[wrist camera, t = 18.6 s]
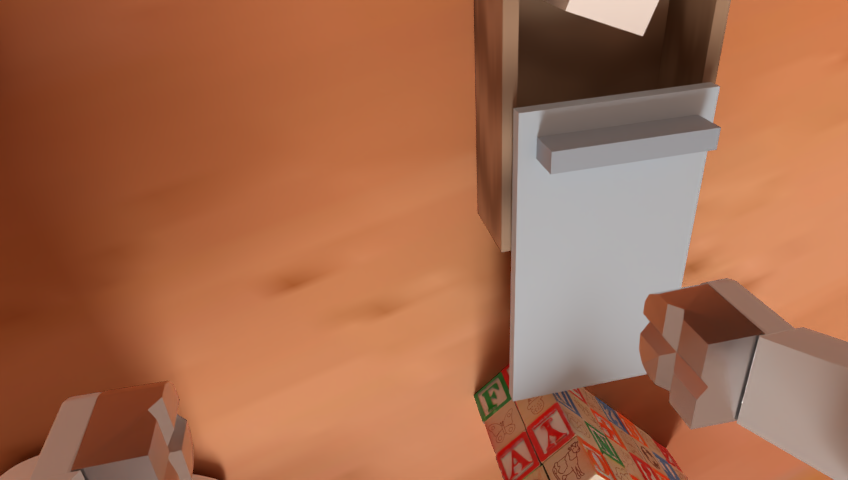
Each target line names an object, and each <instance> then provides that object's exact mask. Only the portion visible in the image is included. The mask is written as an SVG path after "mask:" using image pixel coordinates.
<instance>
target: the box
mask: <svg viewBox="0 0 848 480" xmlns="http://www.w3.org/2000/svg"><path fill="white" fill-rule="evenodd" d="M730 2H731V0H659V2H658V4H657V6H656V8H655V11H654V13H653V15H652V17H651V19H650V22H649V24H648V26H647V28H646V30H645V33H644V35H643V36H640V35H637V34H634V33H631V32H628V31H625V30H622V29H619V28H616V27H613V26H610V25H607V24H604V23H601V22H598V21H595V20H592V19H589V18H586V17H582V16H579V15H576V14H573V13H570V12H567V11H565V10H562V9H560V8H558V7H556V6H554V5H552V4H550V3H547V2H545V1H543V0H474V35H475V91H476V148H477V204H478V214H479V216H480V218H481V219H482V221H483V223H484V224H485V226H486V228H487V229H488V231H489V233H490V234H491V236H492V238H493V239H494V241H495V243H496V244H497V246H498V248H499V249H500V251H501V252H507V251H511V237H512V173H513V108H519V107H526V106H534V105H541V104H549V103H556V102H564V101H572V100H579V99H587V98H594V97H602V96H609V95H617V94H624V93H632V92H639V91H647V90H655V89H662V88H670V87H677V86H685V85H692V84H700V83H707V82H712V83H714V84H715V82H716V76H717V71H718V66H719V60H720V55H721V50H722V44H723V39H724V34H725V29H726V23H727V18H728V13H729V7H730Z"/></svg>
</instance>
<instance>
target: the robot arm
mask: <svg viewBox="0 0 848 480" xmlns="http://www.w3.org/2000/svg"><path fill="white" fill-rule="evenodd" d="M643 314H644V315H645V317H646V318H647V319H648V320H649V323H648V324H647V326H646V327H645V328H644V329H643V331H642V332H641V333H640V342H639V352H640V357H641V361H642V365H643V367H644V369H645V371H646V373H647V375H648V376H649V377H650V379H651V380H652V381H653V383H654V384H655V385H657V386H660V387H662V388H664V389H666V390H668V391H670V395H669V403H670V404H671V405H672V407H673V408H674V409H675V410H676V412H677V413H678V414H679V415H680V417H681V418H682V419H683V420H684V422H685V423H686V424H687V425H688V427H689V428H690V429H695V428H701V427H706V426H711V425H717V424H722V423H727V422H732V421H737V423H738V424H739V425H741V426H743V427H744V428H746V429H748V430H750V431H751V432H753V433H755V434H756V435H758V436H760V437H762V438H763V439H765V440H767V441H769V442H770V443H772V444H774V445H775V446H777V447H779V448H781V449H782V450H784V451H786V452H787V453H789V454H791V455H793V456H794V457H796V458H798V459H799V460H801V461H803V462H805V463H806V464H808V465H810V466H812V467H813V468H815V469H817V470H818V471H820V472H822V473H824V474H825V475H827V476H829V477H830V478H832V479H834V480H848V342H846V341H843V340H840V339H837V338H834V337H831V336H828V335H825V334H822V333H819V332H816V331H813V330H810V329H807V328H804V327H802V328H796V329H795V328H794V327H792V326H791V325H790V324H789V323H787V322H786V321H785V320H784V319H782V318H781V317H780V316H779V315H777V314H776V313H775V312H774V311H773V310H771V309H770V308H769V307H768V306H766V305H765V304H764V303H763V302H761V301H760V300H759V299H758V298H756V297H755V296H754V295H753V294H751V293H750V292H749V291H748V290H747V289H745V288H744V287H743V286H742V285H740V284H739V283H738V282H737V281H735V280H732V279H728V278H725V279H720V280H716V281H711V282H706V283H701V284H700V285H695V286H690V287H684V288H679V289H674V290H668V291H663V292H657V293H652V294H649V295H648V297H647V299H646V300H645V304H644V310H643ZM179 400H180V399H179V397H178V394H177V391H176V389H175V386H174V384H173V383H172V382H170V381H163V382H157V383H151V384H144V385H138V386H132V387H126V388H119V389H113V390H107V391H103V392H96V393H90V394H85V395H79V396H73V397H69V398H68V399H66V400H65V401H64V402H63V403H62V404H61V407H60V409H59V411H58V413H57V416H56V418H55V420H54V423H53V425H52V427H51V429H50V432H49V434H48V436H47V439H46V441H45V443H44V445H43V448H42V450H41V452H40V455H38V456H35V457H33V458H30V459H28V460H26V461H23V462H21V463H19V464H18V465H16V466H14V467H12V468H11V469H9V470H8V471H6V472H5V473H4V474H3V475H1V476H0V480H217V479H214V478H210V477H206V476H200V475H195V474H192V473H193V466H194V457H193V442H192V437H191V432H190V429H189V426H188V423H187V420H186V419H184V418H182V417H181V416H179V415H178V414H177V411H178V405H179Z"/></svg>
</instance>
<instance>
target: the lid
mask: <svg viewBox="0 0 848 480" xmlns="http://www.w3.org/2000/svg"><path fill="white" fill-rule="evenodd" d="M719 89H720V86H718V85H716V84H714V83H712V82H707V83H700V84H692V85H685V86H677V87H670V88H662V89H655V90H647V91H639V92H632V93H624V94H617V95H609V96H602V97H594V98H587V99H579V100H572V101H564V102H556V103H549V104H541V105H534V106H526V107H519V108H513V173H512V237H511V302H510V367H509V394H510V396H511V398H512V400H513V401H518V400H523V399H528V398H533V397H537V396H542V395H547V394H552V393H557V392H562V391H567V390H572V389H577V388H582V387H586V386H591V385H596V384H601V383H606V382H611V381H616V380H621V379H626V378H631V377H635V376H640V375H645V374H647V373H646V371H645V369H644V367H643V365H642V361H641V357H640V352H639V342H640V333H641V332H642V331H643V329H644V328H645V327H646V326H647V324H648V323H649V320H648V319H647V318H646V317H645V315H644V314H643V310H644V304H645V300H646V299H647V297H648V295H649V294H652V293H657V292H663V291H668V290H674V289H679V288H681V286H682V280H683V275H684V270H685V265H686V260H687V254H688V249H689V244H690V239H691V234H692V229H693V223H694V218H695V213H696V208H697V203H698V197H699V192H700V187H701V182H702V177H703V172H704V166H705V161H706V156H707V151H711V150H716V149H717V144H718V139H719V134H720V129H721V127H719V126H717V125H716V124H714V123H713V120H714V115H715V109H716V104H717V99H718V94H719Z"/></svg>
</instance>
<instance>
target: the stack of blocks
mask: <svg viewBox="0 0 848 480" xmlns="http://www.w3.org/2000/svg"><path fill="white" fill-rule="evenodd" d="M509 367H510V363H509V364H508V365H507V366H506V367H505V368H504V369H503V370H502V371H501V372H500V373H499V374H498V375H497V376H495V377H494V378H493V379H492V380H491V381H490V382H489V383H487V384H486V385H485V386H484V387H483V388H482V389H480V390H479V391H478V392H477V393H476V394H475V395H474V398H475V401H476V404H477V407H478V410H479V413H480V416H481V418H482V421H483V423H484V424H485V426H486V429H487V432H488V435H489V438H490V441H491V444H492V446H493V449H494V452H495V453H496V460H497V463H498V466H499V468H500V470H501V474H502V477H503V479H504V480H688V478H687V477H686V476H685V475H684V474H683V472H682V471H681V469H680V468H679V466H678V465H677V463H676V461H675V460H674V459H673V457H672V456H671V455H670V453H669V452H668V450H667V449H666V448H665V447H663V446H662V445H660V444H659V443H657V442H656V441H655V440H653V439H652V438H651V437H650V436H649V435H648V434H647V433H645V432H644V431H643V430H641V429H640V428H638V427H637V426H636V425H634V424H633V423H632V422H630V421H629V420H628V419H627V418H625V417H624V416H623V415H621V414H620V413H618V412H617V411H616V410H613V409H612V408H610V407H609V406H608V405H606V404H605V403H604V402H602V401H601V400H600V399H598V398H597V397H596V396H593V395H592V394H591V393H590V392H588V391H587V390H586V389H584V388H583V387H582V388H577V389H572V390H567V391H562V392H557V393H552V394H547V395H542V396H537V397H533V398H528V399H523V400H518V401H513V400H512V398H511V396H510V394H509Z"/></svg>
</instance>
